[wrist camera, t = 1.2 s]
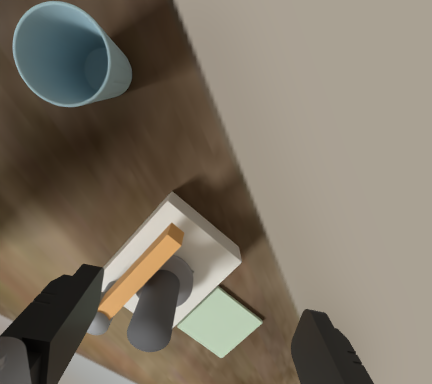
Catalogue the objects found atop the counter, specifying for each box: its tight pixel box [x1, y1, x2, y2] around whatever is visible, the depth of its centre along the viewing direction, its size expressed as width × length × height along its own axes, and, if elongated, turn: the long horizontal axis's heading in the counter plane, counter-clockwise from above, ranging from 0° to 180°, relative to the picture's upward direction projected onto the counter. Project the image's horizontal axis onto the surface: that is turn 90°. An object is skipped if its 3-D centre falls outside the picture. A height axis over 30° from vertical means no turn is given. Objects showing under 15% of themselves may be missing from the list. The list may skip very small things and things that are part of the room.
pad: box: [177, 286, 263, 358], centre depth 42 cm, size 9×9×1 cm
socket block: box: [102, 191, 242, 327], centre depth 36 cm, size 15×12×6 cm
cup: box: [13, 1, 132, 107], centre depth 27 cm, size 8×8×10 cm
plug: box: [127, 254, 193, 352], centre depth 32 cm, size 7×7×14 cm
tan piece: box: [87, 223, 184, 335], centre depth 30 cm, size 14×3×4 cm, turn 138°
